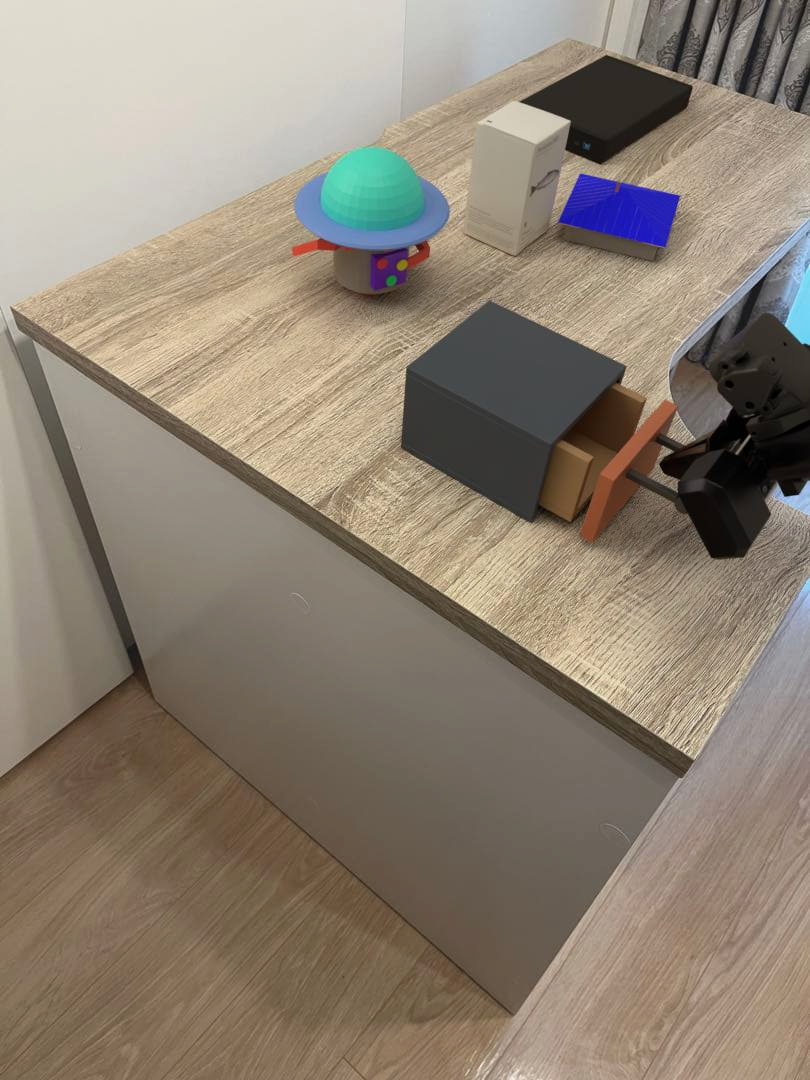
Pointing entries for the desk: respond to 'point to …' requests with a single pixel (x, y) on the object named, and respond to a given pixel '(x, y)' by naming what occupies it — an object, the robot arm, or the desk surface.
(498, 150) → the white packaging box
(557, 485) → the drawer
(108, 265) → the desk surface
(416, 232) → the toy robot
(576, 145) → the external hard drive
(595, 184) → the roof
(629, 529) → the desk surface
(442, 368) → the cabinet
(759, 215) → the desk surface
